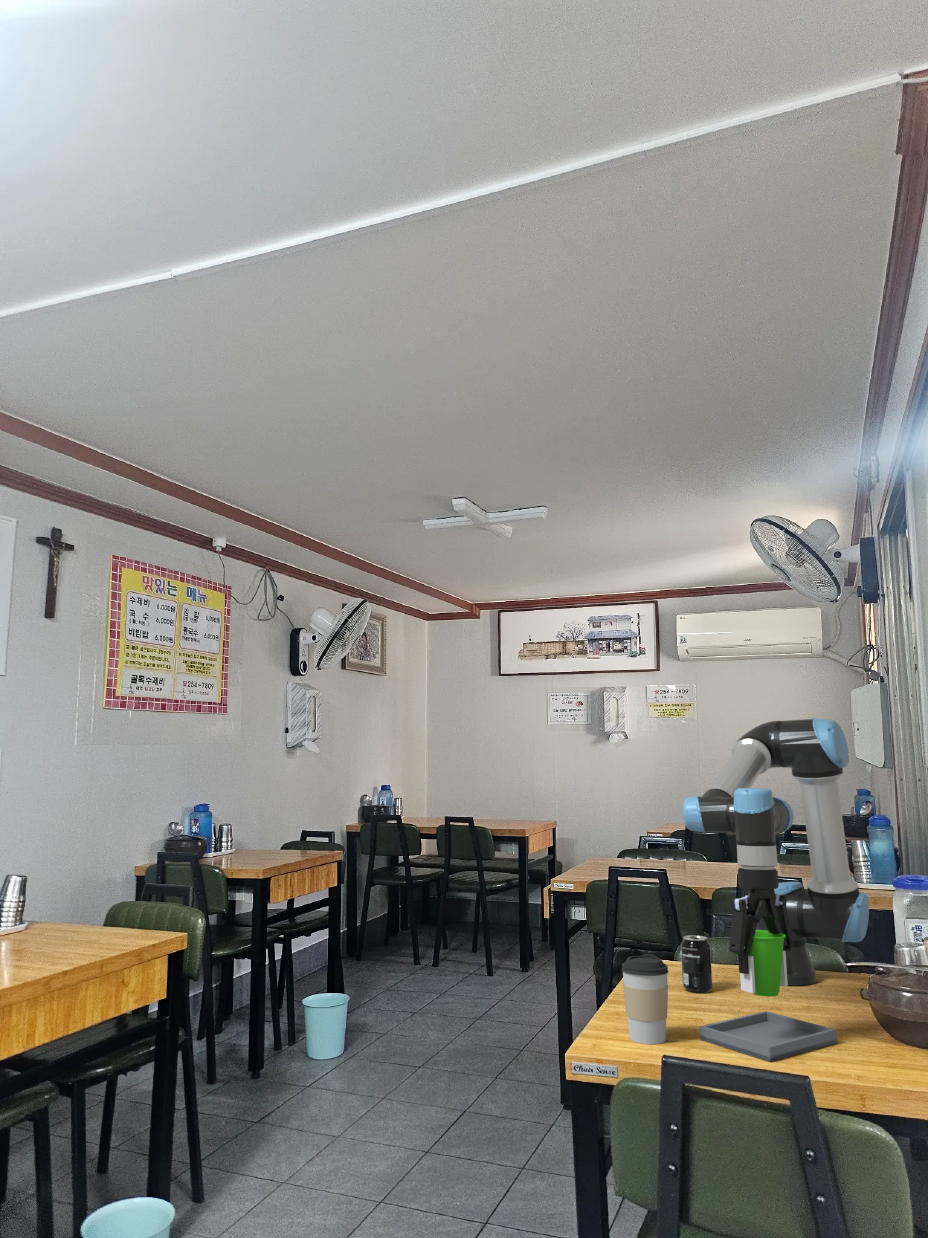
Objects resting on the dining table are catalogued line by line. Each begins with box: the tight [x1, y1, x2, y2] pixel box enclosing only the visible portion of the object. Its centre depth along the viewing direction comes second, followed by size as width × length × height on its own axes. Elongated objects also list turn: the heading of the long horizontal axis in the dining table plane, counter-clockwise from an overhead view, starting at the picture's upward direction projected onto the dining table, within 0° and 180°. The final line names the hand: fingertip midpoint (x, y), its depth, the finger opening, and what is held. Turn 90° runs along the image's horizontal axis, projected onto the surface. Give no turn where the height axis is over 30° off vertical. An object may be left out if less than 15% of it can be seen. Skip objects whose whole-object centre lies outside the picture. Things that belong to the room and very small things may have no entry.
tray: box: [698, 1010, 838, 1063], centre depth 164 cm, size 20×16×2 cm
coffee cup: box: [621, 953, 670, 1045], centre depth 166 cm, size 9×9×15 cm
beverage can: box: [680, 934, 713, 994], centre depth 204 cm, size 7×7×12 cm
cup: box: [744, 930, 786, 997], centre depth 166 cm, size 9×9×11 cm
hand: (764, 988), depth 165 cm, fingers closed on cup, 9 cm apart
